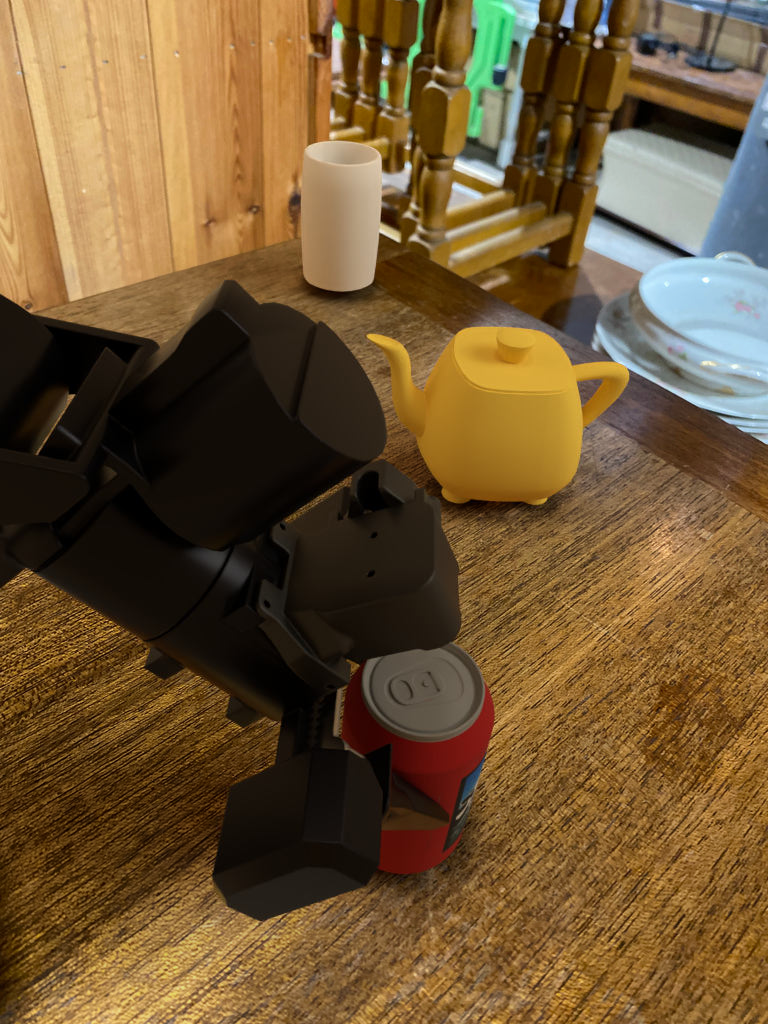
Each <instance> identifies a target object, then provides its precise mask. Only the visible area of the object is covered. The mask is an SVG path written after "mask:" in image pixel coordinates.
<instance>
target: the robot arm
mask: <svg viewBox="0 0 768 1024" xmlns="http://www.w3.org/2000/svg"><path fill="white" fill-rule="evenodd" d="M72 395H74V396H73V397H72V398H71V401H70V402H69V403H68V401H69V400H68V399H69V396H72ZM387 442H388V428H387V420H386V416H385V413H384V410H383V406H382V402H381V400H380V398H379V396H378V394H377V391H376V389H375V386H374V385H373V383H372V381H371V379H370V378H369V376H368V374H367V373H366V371H365V369H364V368H363V366H362V365H361V363H360V362H359V360H358V359H357V357H356V356H355V354H354V353H353V352H352V350H351V349H350V348H349V346H347V344H346V343H345V342H344V341H343V340H342V338H340V337H339V335H338V334H337V333H336V332H335V331H334V330H333V329H332V328H331V327H330V326H329V325H328V324H327V323H326V322H324V321H322V320H318V321H317V322H315V321H314V320H312V319H311V318H310V317H308V315H306V314H304V313H303V312H302V311H299V310H297V309H296V308H294V307H291V306H290V305H287V304H283V303H281V302H276V301H272V302H271V301H270V302H263V303H259V302H258V301H257V300H256V299H255V298H254V297H253V295H251V294H250V293H249V292H248V291H247V290H246V289H245V288H243V286H242V285H240V283H239V282H238V281H237V280H235V279H224V280H223V281H222V282H221V283H220V284H219V285H217V286H216V287H215V288H214V289H212V291H211V292H210V293H208V294H207V295H206V296H205V297H204V298H203V300H201V302H200V303H199V304H198V305H197V307H196V308H195V311H194V312H193V314H192V316H191V317H190V319H189V320H188V322H187V323H186V324H185V325H184V326H183V327H181V329H180V330H178V331H177V332H176V333H175V334H174V335H173V336H171V338H170V339H168V340H167V341H166V342H165V343H164V344H163V345H162V346H160V345H159V343H158V342H157V341H156V340H154V339H152V338H148V337H144V336H139V335H134V334H129V333H124V332H121V331H120V332H119V331H115V330H110V329H106V328H100V327H95V326H91V325H85V324H81V323H78V322H77V323H76V322H72V321H67V320H62V319H58V318H52V317H48V316H43V315H38V314H34V313H31V312H30V311H28V310H27V309H26V308H24V307H23V306H21V305H19V304H18V303H17V302H15V301H13V300H12V299H10V298H8V297H7V296H5V295H3V294H2V293H0V590H1V589H3V588H4V587H5V586H6V585H8V584H9V583H10V582H11V581H12V580H14V579H15V578H16V577H18V576H19V575H20V574H21V573H22V572H23V571H25V570H28V571H30V572H32V573H33V574H34V575H36V576H38V577H40V578H41V579H43V580H45V581H47V582H48V583H50V584H51V585H52V586H54V587H55V588H57V589H58V590H60V591H62V592H64V593H65V594H67V595H68V596H70V597H71V598H73V599H74V600H77V601H78V602H80V603H82V604H83V605H85V606H86V607H88V608H90V609H91V610H92V611H95V612H96V613H97V614H99V615H101V616H102V617H104V618H105V619H107V620H109V621H110V622H112V623H114V624H116V625H117V626H118V627H120V628H121V629H123V630H125V631H127V632H128V633H130V634H131V635H133V636H134V637H136V638H137V639H139V640H140V641H142V642H144V643H145V644H147V645H149V646H150V647H149V650H148V654H147V657H146V660H145V663H144V666H143V669H145V670H146V671H148V672H150V673H151V674H153V675H154V676H156V677H158V678H159V679H161V680H163V681H166V680H169V679H170V678H172V677H173V676H175V675H176V674H178V673H180V672H182V671H183V670H184V669H187V670H188V671H190V672H191V673H193V674H194V675H196V676H198V677H200V678H201V679H202V680H204V681H206V682H207V683H210V684H211V686H214V687H216V688H218V689H219V690H220V691H222V692H224V693H225V694H227V695H228V696H229V697H228V698H229V699H228V702H227V706H226V707H227V708H226V712H225V718H226V719H228V720H229V721H231V722H232V723H234V724H236V725H237V726H239V727H240V728H242V729H245V728H247V727H249V726H251V725H253V724H255V723H257V722H258V721H260V720H262V719H264V718H267V719H269V720H270V721H271V722H280V726H279V727H280V728H279V733H278V739H277V745H276V752H275V758H274V763H273V765H272V766H270V767H268V768H266V769H264V770H261V771H259V772H257V773H254V774H253V775H250V776H248V777H245V778H243V779H242V780H240V781H238V782H236V783H233V784H231V785H229V789H228V794H227V798H226V804H225V810H224V814H223V819H222V824H221V828H220V829H221V830H220V835H219V838H218V844H217V850H216V852H215V853H216V854H215V858H214V864H213V869H212V873H211V878H212V885H213V890H214V893H215V894H216V895H217V897H218V898H219V899H220V900H221V901H222V903H223V904H224V905H225V906H226V907H227V908H229V909H231V910H233V911H236V912H238V913H240V914H242V915H245V916H247V917H249V918H251V919H253V920H256V921H258V922H260V923H262V922H264V921H265V922H266V921H267V920H270V919H274V918H277V917H279V916H283V915H286V914H289V913H291V912H294V911H297V910H300V909H302V908H303V909H304V908H305V907H309V906H313V905H315V904H317V903H321V902H324V901H327V900H330V899H333V898H336V897H339V896H341V895H344V894H347V893H350V892H353V891H356V890H359V889H362V888H365V887H367V886H368V884H369V883H370V881H371V880H372V878H373V876H374V875H375V873H376V872H377V870H378V867H379V865H380V852H381V830H435V829H438V828H440V827H443V826H446V825H448V824H449V823H450V815H449V814H448V813H447V812H446V811H445V810H444V809H443V808H442V807H441V806H440V805H439V804H438V803H437V802H436V801H435V800H433V799H432V798H430V797H429V796H428V795H426V794H425V793H423V792H422V791H420V790H419V789H417V788H416V787H415V786H413V785H412V784H410V783H409V782H407V781H406V780H404V779H403V778H401V777H400V776H399V775H397V774H396V773H394V772H393V771H392V759H393V746H392V744H391V743H389V744H386V745H384V746H382V747H380V748H377V749H375V750H373V751H371V752H368V753H366V754H364V755H362V754H360V753H359V752H357V751H356V750H354V749H353V748H351V747H349V744H348V743H347V742H346V741H344V740H343V739H341V738H342V737H340V735H339V734H340V723H341V713H342V702H343V690H344V688H345V687H347V686H348V684H350V679H351V676H352V675H351V673H352V663H355V664H356V665H358V666H360V665H361V664H362V663H363V662H365V661H366V660H368V659H373V658H377V657H382V656H387V655H392V654H397V653H401V652H406V651H411V650H416V649H421V650H424V651H429V650H433V649H437V648H441V647H443V646H445V645H447V644H449V643H450V642H453V641H454V640H455V639H456V637H457V636H458V635H459V633H460V631H461V628H462V621H463V619H462V612H461V606H460V587H459V584H460V583H459V575H460V565H459V562H458V559H457V558H456V555H455V553H454V551H453V549H452V546H451V544H450V542H449V540H448V537H447V535H446V533H445V530H444V528H443V526H442V501H441V500H440V499H439V498H438V497H436V496H435V495H431V494H430V495H429V494H428V493H427V490H426V488H425V487H420V488H419V486H418V485H417V483H416V482H415V481H414V480H413V479H412V478H410V477H409V476H408V475H406V474H405V473H404V472H402V471H401V470H400V469H398V468H397V467H396V466H394V465H392V463H391V462H389V461H387V460H386V459H383V458H382V459H381V458H380V459H377V458H379V457H380V456H381V455H382V454H383V453H384V450H385V448H386V445H387ZM43 443H44V444H43ZM376 459H377V460H376ZM350 476H351V478H350V479H351V480H350V486H343V487H341V488H340V489H338V490H337V491H335V492H334V493H332V494H331V495H329V496H328V497H326V498H325V499H323V500H321V501H320V502H318V503H317V504H315V505H314V506H313V507H312V508H310V509H308V510H307V511H305V512H304V513H302V514H301V515H299V516H298V517H296V518H295V519H293V520H292V521H290V522H287V521H286V520H285V519H287V518H289V517H290V516H292V515H294V514H295V513H297V512H298V511H299V510H301V509H302V508H304V507H305V506H307V505H308V504H310V503H311V502H314V500H316V499H317V498H318V497H319V498H320V497H321V496H322V495H323V494H325V493H326V492H327V491H329V490H331V489H332V488H334V487H335V486H337V485H338V484H340V483H341V482H343V481H344V480H346V479H348V478H349V477H350ZM349 661H350V662H352V663H350V662H349Z"/></svg>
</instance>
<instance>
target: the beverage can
mask: <svg viewBox="0 0 768 1024" xmlns="http://www.w3.org/2000/svg"><path fill="white" fill-rule="evenodd" d="M495 711H496V710H495V704H494V700H493V697H492V693H491V691H490V689H489V687H488V685H487V683H486V681H485V679H484V675H483V672H482V671H481V669H480V666H479V665H478V663H477V662H476V661H475V658H473V657H472V656H471V655H470V653H468V652H467V651H466V650H465V649H463V648H462V647H461V646H459V645H458V644H456V643H455V642H453V641H451V642H450V643H449V644H447V645H445V646H443V647H441V648H437V649H433V650H429V651H424V650H421V649H416V650H411V651H406V652H401V653H397V654H392V655H387V656H382V657H377V658H373V659H368V660H366V661H365V662H363V663H362V664H361V665H358V667H357V669H356V670H355V671H354V672H353V674H352V675H351V676H350V684H348V685H346V689H345V693H344V699H343V712H342V724H341V726H342V727H341V737H340V738H341V739H343V740H344V741H346V742H347V743H348V744H349V747H351V748H353V749H354V750H356V751H357V752H359V753H360V754H362V755H364V754H366V753H368V752H371V751H373V750H375V749H377V748H380V747H382V746H384V745H386V744H389V743H391V744H392V746H393V759H392V771H393V772H394V773H396V774H397V775H399V776H400V777H401V778H403V779H404V780H406V781H407V782H409V783H410V784H412V785H413V786H415V787H416V788H417V789H419V790H420V791H422V792H423V793H425V794H426V795H428V796H429V797H430V798H432V799H433V800H435V801H436V802H437V803H438V804H439V805H440V806H441V807H442V808H443V809H444V810H445V811H446V812H447V813H448V814H449V815H450V823H449V824H448V825H446V826H443V827H440V828H438V829H435V830H381V852H380V865H379V867H378V868H377V870H380V871H382V872H383V871H384V872H387V873H391V874H397V875H411V874H412V875H413V874H418V873H422V872H426V871H428V870H431V869H433V868H435V867H437V866H438V865H440V864H441V863H442V862H444V861H445V860H447V859H448V857H450V855H451V854H452V853H453V852H454V850H456V848H457V846H458V844H459V842H460V840H461V838H462V835H463V832H464V830H465V826H466V823H467V820H468V817H469V814H470V810H471V807H472V804H473V802H474V797H475V794H476V790H477V788H478V784H479V780H480V777H481V774H482V770H483V767H484V763H485V760H486V756H487V753H488V748H489V745H490V741H491V737H492V734H493V730H494V727H495V726H494V725H495V720H496V718H495V717H496V715H495V714H496V713H495Z"/></svg>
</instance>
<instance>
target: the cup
mask: <svg viewBox="0 0 768 1024" xmlns="http://www.w3.org/2000/svg"><path fill="white" fill-rule="evenodd" d="M302 162H303V163H302V170H301V187H300V188H301V189H300V235H301V237H300V239H301V240H300V241H301V242H300V243H301V257H302V261H301V262H302V274H303V277H304V279H305V281H307V283H309V284H310V285H312V286H314V287H316V288H319V289H323V290H326V291H333V292H353V291H357V290H358V291H359V290H362V289H364V288H366V287H368V286H370V285H371V284H372V283H373V282H374V280H375V274H376V273H375V272H376V266H377V257H378V250H379V249H378V248H379V240H380V229H381V215H382V197H383V166H382V165H383V162H382V154H381V153H380V152H379V150H377V149H376V148H374V147H373V146H370V145H367V144H364V143H360V142H356V141H355V142H354V141H347V140H325V141H319V142H315V143H311V144H310V145H307V147H305V149H304V150H303V158H302Z"/></svg>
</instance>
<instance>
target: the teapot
mask: <svg viewBox="0 0 768 1024" xmlns="http://www.w3.org/2000/svg"><path fill="white" fill-rule="evenodd" d="M366 338H367V340H368V341H370V342H371V343H372V344H374V346H376V347H377V348H378V349H380V351H382V352H383V354H384V356H385V358H386V359H387V361H388V364H389V368H390V375H391V376H390V377H391V397H392V398H391V399H392V405H393V408H394V412H395V414H396V416H397V418H398V420H399V422H400V423H401V424H402V425H403V426H404V427H405V428H406V429H407V430H408V431H410V432H411V433H413V434H414V435H415V438H416V443H417V447H418V450H419V452H420V454H421V457H422V459H423V460H424V463H425V464H426V466H427V468H428V469H429V472H430V473H431V475H432V476H433V477H434V478H435V480H436V481H437V483H438V484H439V485H440V486H441V487H442V488H441V495H442V497H443V498H444V499H445V500H446V501H448V502H451V503H454V504H465V503H468V502H470V501H471V500H475V501H477V500H478V501H487V502H522V503H525V504H528V505H531V506H539V505H543V504H544V503H546V502H547V501H548V498H550V497H551V496H553V495H555V494H556V493H558V492H559V491H562V489H563V488H565V487H566V486H567V485H569V484H570V483H571V481H572V479H573V478H574V477H575V475H576V474H577V470H578V467H579V463H580V460H581V453H582V446H583V434H584V433H583V431H584V429H585V428H586V427H588V426H589V425H590V424H591V423H592V422H594V421H595V420H596V419H597V418H598V417H600V416H601V415H602V414H603V413H604V412H605V411H606V410H608V408H610V406H612V405H613V404H614V403H615V402H616V401H617V399H618V398H620V396H621V395H622V393H623V392H624V390H625V389H626V387H627V385H628V383H629V380H630V371H629V370H628V368H627V366H626V365H624V364H623V363H620V362H616V361H594V362H586V363H578V364H573V365H572V361H571V360H570V358H569V355H568V354H567V353H566V351H565V350H564V348H563V347H562V346H561V344H559V342H558V341H557V340H555V338H553V337H552V336H551V335H549V334H547V333H546V332H544V331H541V330H537V329H530V328H523V327H509V326H471V327H466V328H463V329H461V330H460V331H458V332H457V333H456V334H455V335H454V336H453V337H452V338H451V340H450V341H449V342H448V344H447V345H446V346H445V348H444V350H443V351H442V353H441V354H440V356H439V358H438V359H437V361H436V363H435V364H434V366H433V368H432V370H431V371H430V373H429V375H428V377H427V380H426V383H425V385H424V387H423V390H421V389H420V388H418V387H417V386H416V385H415V383H414V382H413V378H412V366H411V359H410V355H409V353H408V351H407V349H406V348H405V347H404V345H403V344H402V343H401V342H399V341H397V339H394V338H391V337H389V336H386V335H382V334H377V333H368V334H367V335H366ZM592 380H602V382H601V384H600V385H599V387H598V388H597V390H596V391H595V392H594V394H593V395H592V396H591V397H590V398H589V399H588V401H586V403H585V404H584V405H583V406H582V402H581V396H580V390H579V386H578V383H579V382H583V381H592Z"/></svg>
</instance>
